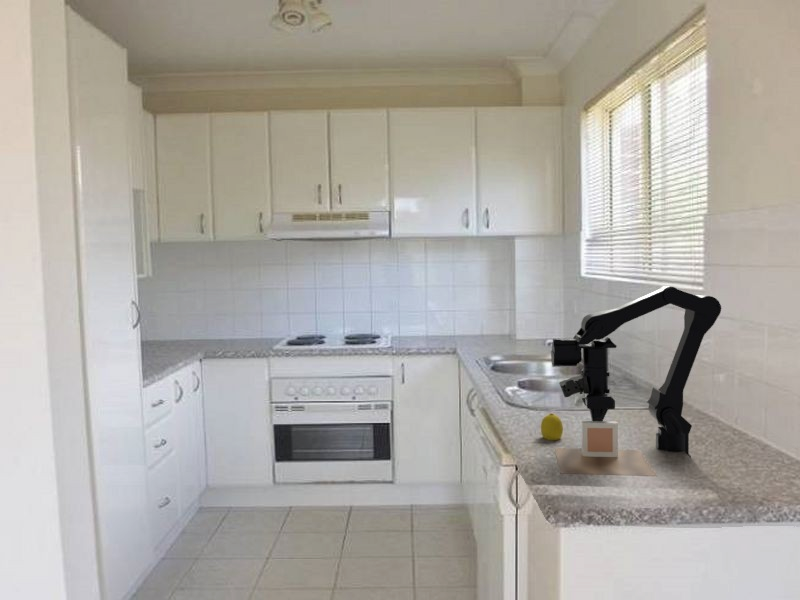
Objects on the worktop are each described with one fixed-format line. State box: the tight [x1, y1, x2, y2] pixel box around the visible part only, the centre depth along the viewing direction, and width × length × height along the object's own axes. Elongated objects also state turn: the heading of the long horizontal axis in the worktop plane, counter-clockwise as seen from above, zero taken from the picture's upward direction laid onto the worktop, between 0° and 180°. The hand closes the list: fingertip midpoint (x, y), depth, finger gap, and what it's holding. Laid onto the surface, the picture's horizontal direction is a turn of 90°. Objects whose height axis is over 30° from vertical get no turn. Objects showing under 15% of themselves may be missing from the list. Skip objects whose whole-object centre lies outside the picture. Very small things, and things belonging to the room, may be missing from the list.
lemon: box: [540, 412, 564, 441], centre depth 164 cm, size 6×6×8 cm
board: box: [554, 447, 658, 477], centre depth 145 cm, size 20×18×2 cm
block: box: [580, 420, 619, 457], centre depth 148 cm, size 8×2×8 cm, turn 80°
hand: (596, 429), depth 154 cm, fingers closed
